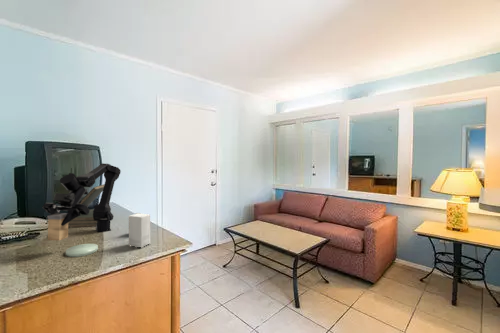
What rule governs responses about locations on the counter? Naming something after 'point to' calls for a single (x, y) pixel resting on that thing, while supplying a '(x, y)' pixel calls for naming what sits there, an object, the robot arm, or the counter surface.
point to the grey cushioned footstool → (57, 227)
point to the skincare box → (139, 230)
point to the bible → (88, 219)
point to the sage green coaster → (81, 250)
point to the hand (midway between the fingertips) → (56, 224)
